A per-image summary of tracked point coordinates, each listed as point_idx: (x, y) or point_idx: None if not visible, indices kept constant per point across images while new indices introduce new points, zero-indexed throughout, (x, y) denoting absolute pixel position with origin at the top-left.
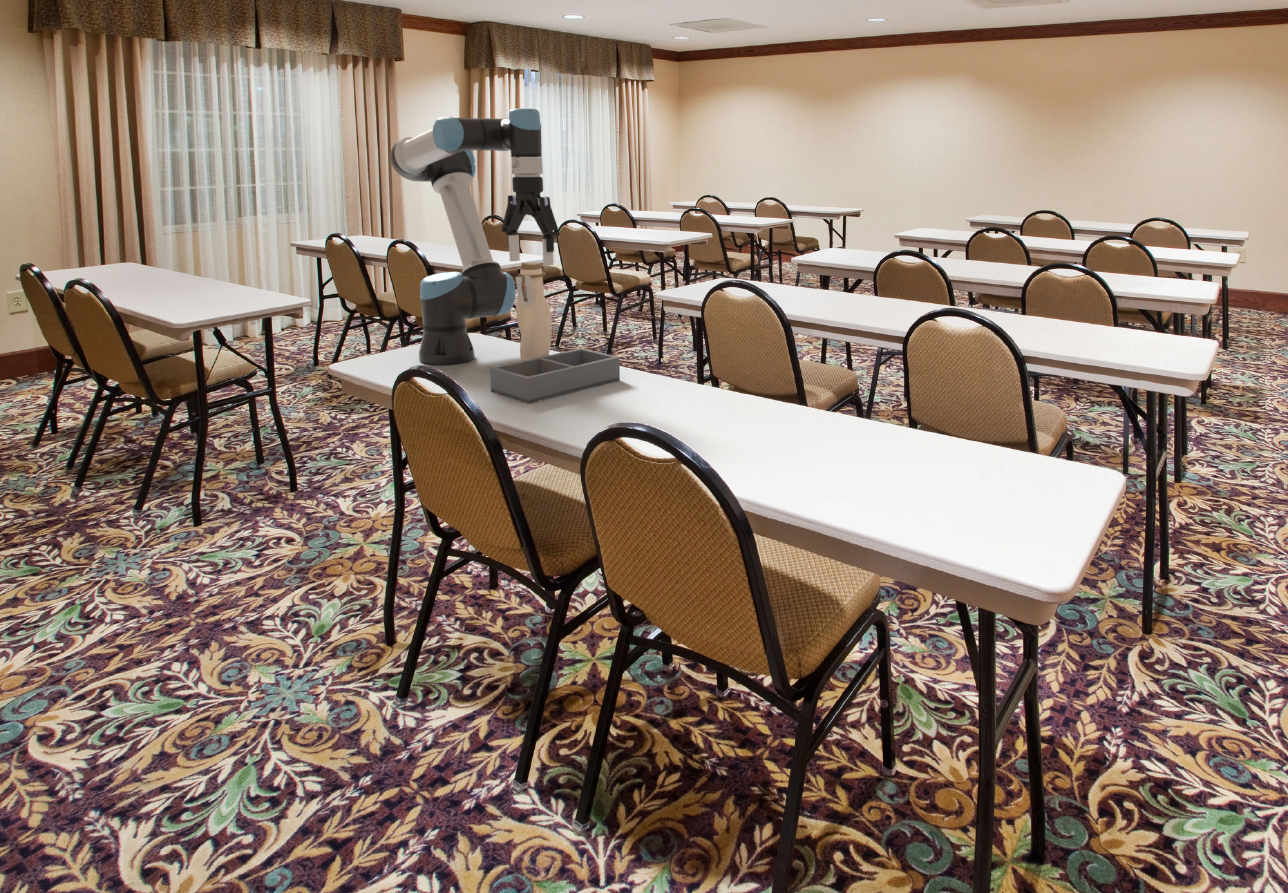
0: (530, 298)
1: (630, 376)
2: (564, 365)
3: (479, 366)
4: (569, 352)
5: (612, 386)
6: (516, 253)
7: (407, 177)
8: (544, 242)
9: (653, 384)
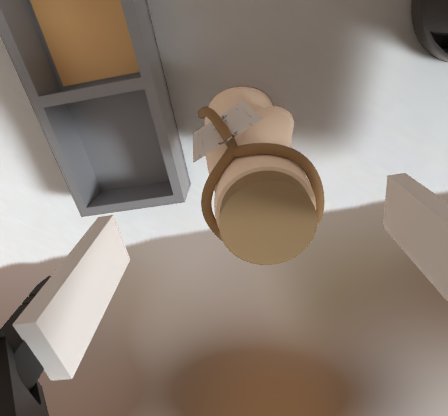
0: (201, 132)
1: None
2: (57, 93)
3: (353, 23)
4: (165, 165)
5: None
6: (405, 230)
7: None
8: (28, 305)
9: (53, 222)
